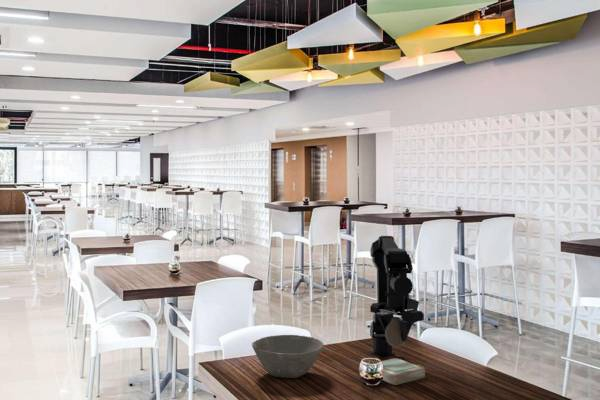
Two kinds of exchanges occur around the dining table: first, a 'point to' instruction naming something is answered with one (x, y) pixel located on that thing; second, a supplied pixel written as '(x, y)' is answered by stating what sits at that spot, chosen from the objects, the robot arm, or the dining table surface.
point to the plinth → (401, 371)
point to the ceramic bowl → (287, 354)
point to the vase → (394, 333)
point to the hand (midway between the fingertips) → (396, 338)
